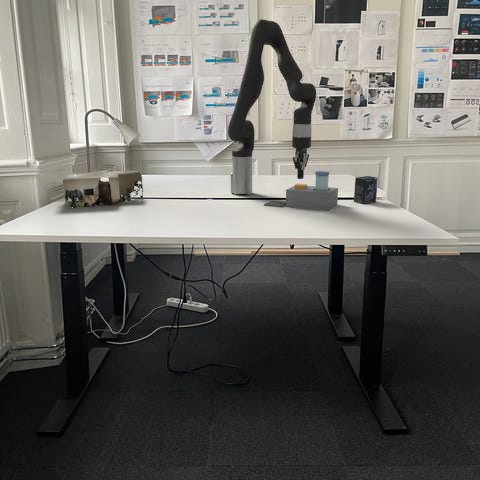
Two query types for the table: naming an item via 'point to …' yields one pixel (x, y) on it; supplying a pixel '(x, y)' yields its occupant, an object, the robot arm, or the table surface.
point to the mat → (275, 204)
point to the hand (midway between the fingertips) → (300, 178)
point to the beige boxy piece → (100, 187)
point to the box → (365, 189)
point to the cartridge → (322, 180)
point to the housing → (312, 198)
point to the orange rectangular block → (300, 186)
